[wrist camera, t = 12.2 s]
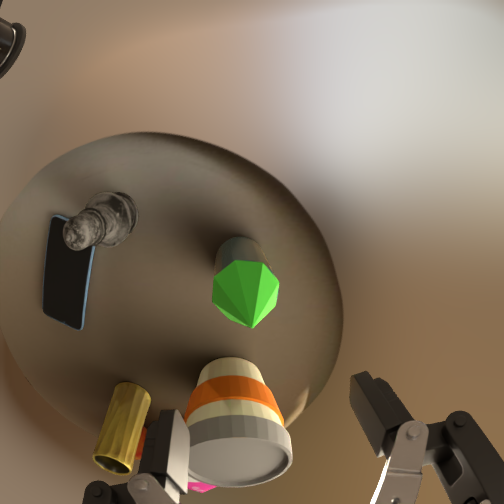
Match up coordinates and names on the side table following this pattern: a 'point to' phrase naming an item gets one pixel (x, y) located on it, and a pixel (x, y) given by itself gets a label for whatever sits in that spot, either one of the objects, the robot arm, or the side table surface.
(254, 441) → the reusable coffee cup
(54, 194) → the side table surface
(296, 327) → the side table surface
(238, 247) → the teal cup
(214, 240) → the side table surface
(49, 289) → the smartphone
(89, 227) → the chess piece
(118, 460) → the vase
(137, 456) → the fruit
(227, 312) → the gemstone
